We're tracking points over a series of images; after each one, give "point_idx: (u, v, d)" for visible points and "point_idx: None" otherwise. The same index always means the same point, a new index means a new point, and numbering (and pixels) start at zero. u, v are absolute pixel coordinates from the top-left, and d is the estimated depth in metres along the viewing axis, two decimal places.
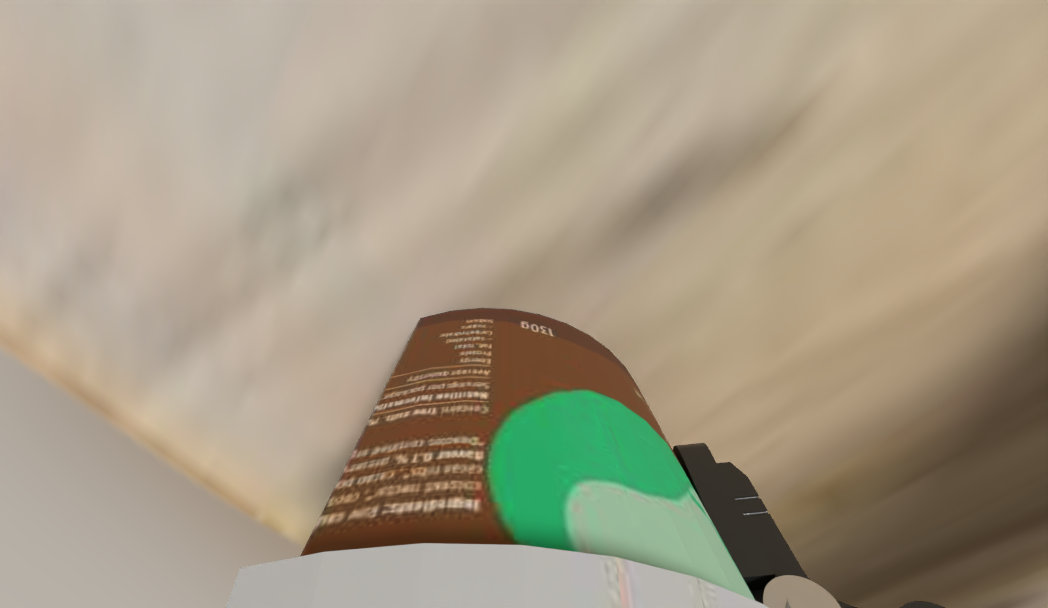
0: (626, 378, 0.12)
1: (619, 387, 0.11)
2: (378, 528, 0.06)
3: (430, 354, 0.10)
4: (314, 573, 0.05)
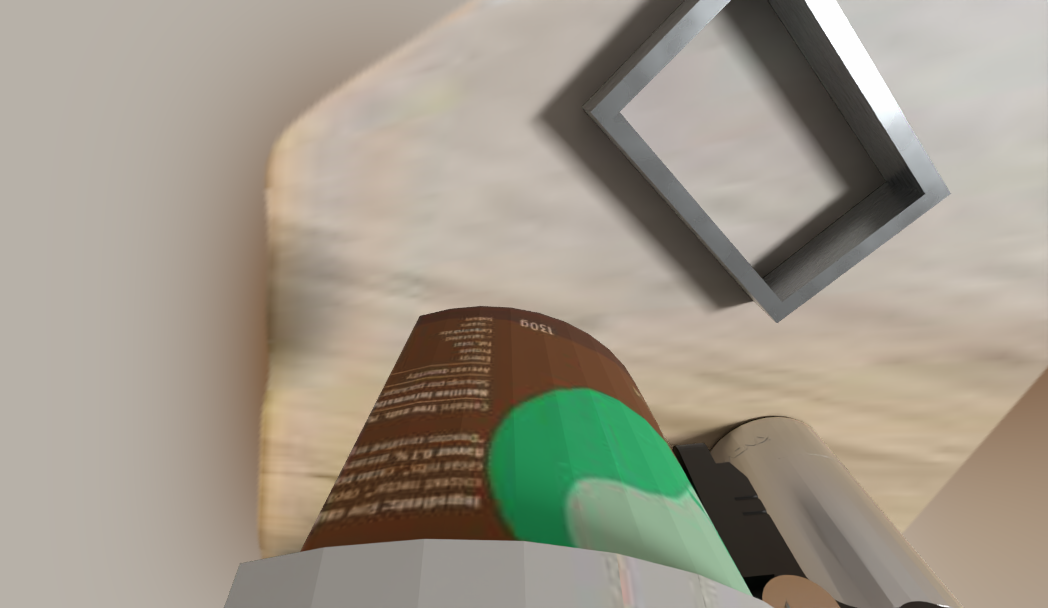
0: (625, 377, 0.12)
1: (618, 385, 0.11)
2: (378, 524, 0.06)
3: (430, 352, 0.10)
4: (315, 568, 0.05)
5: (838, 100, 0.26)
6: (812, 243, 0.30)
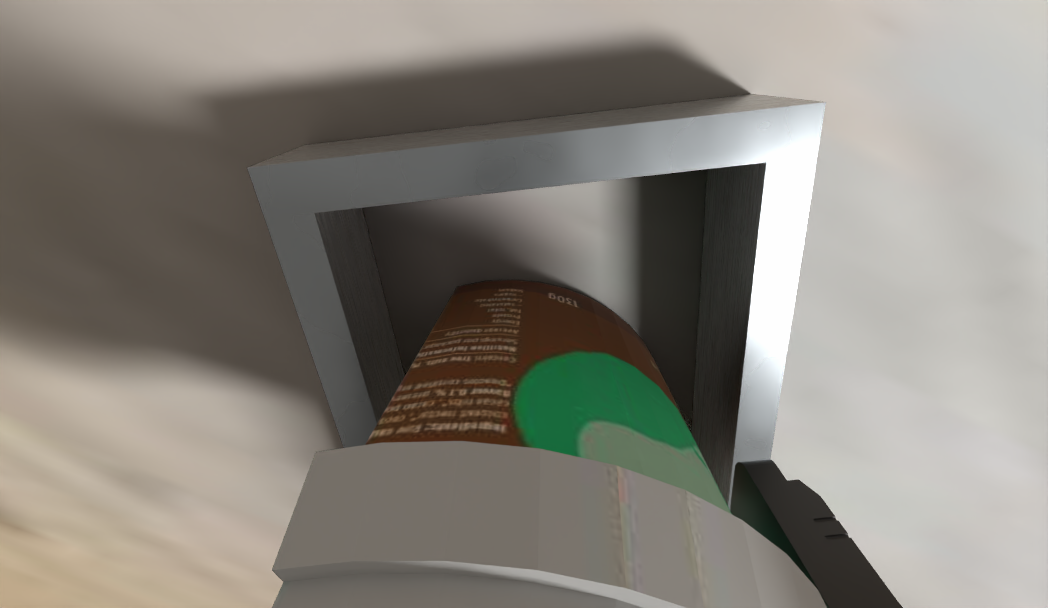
0: (644, 351, 0.13)
1: (636, 356, 0.12)
2: (421, 439, 0.07)
3: (466, 315, 0.12)
4: (374, 456, 0.06)
5: (698, 423, 0.16)
6: None
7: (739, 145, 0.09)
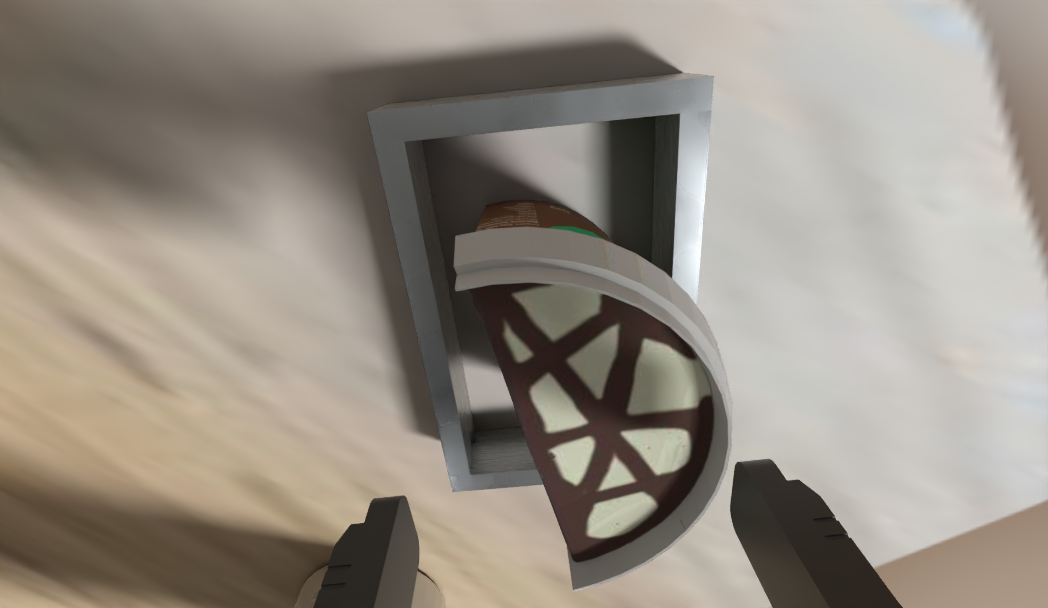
0: None
1: (609, 241, 0.19)
2: None
3: (500, 213, 0.18)
4: (487, 233, 0.12)
5: None
6: None
7: (663, 102, 0.16)
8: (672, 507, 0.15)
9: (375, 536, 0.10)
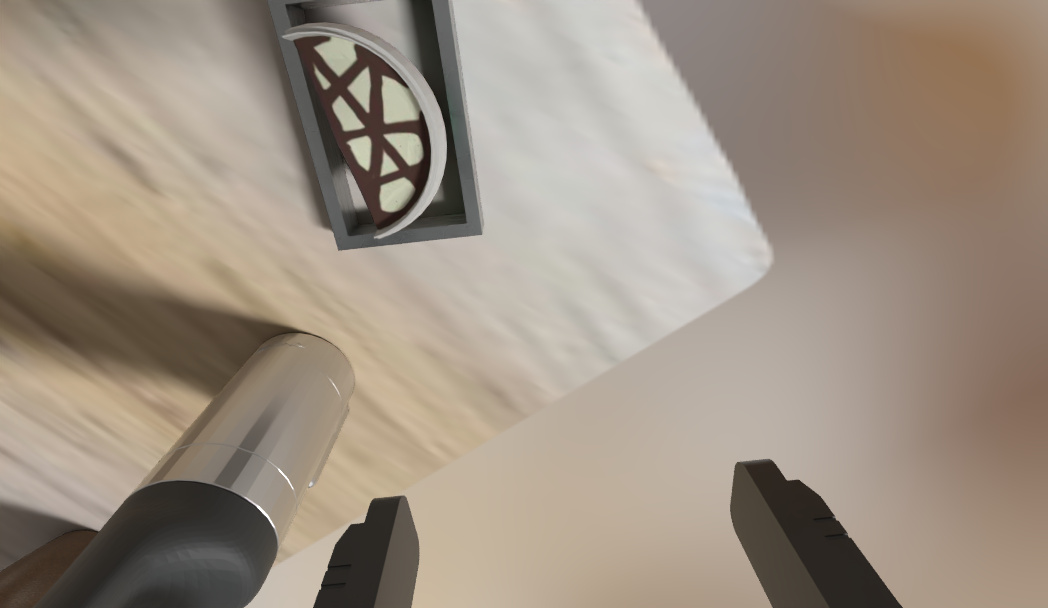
0: None
1: None
2: None
3: None
4: (306, 24, 0.26)
5: None
6: None
7: None
8: (422, 188, 0.29)
9: (375, 536, 0.10)
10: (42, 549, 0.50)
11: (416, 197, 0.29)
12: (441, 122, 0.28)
